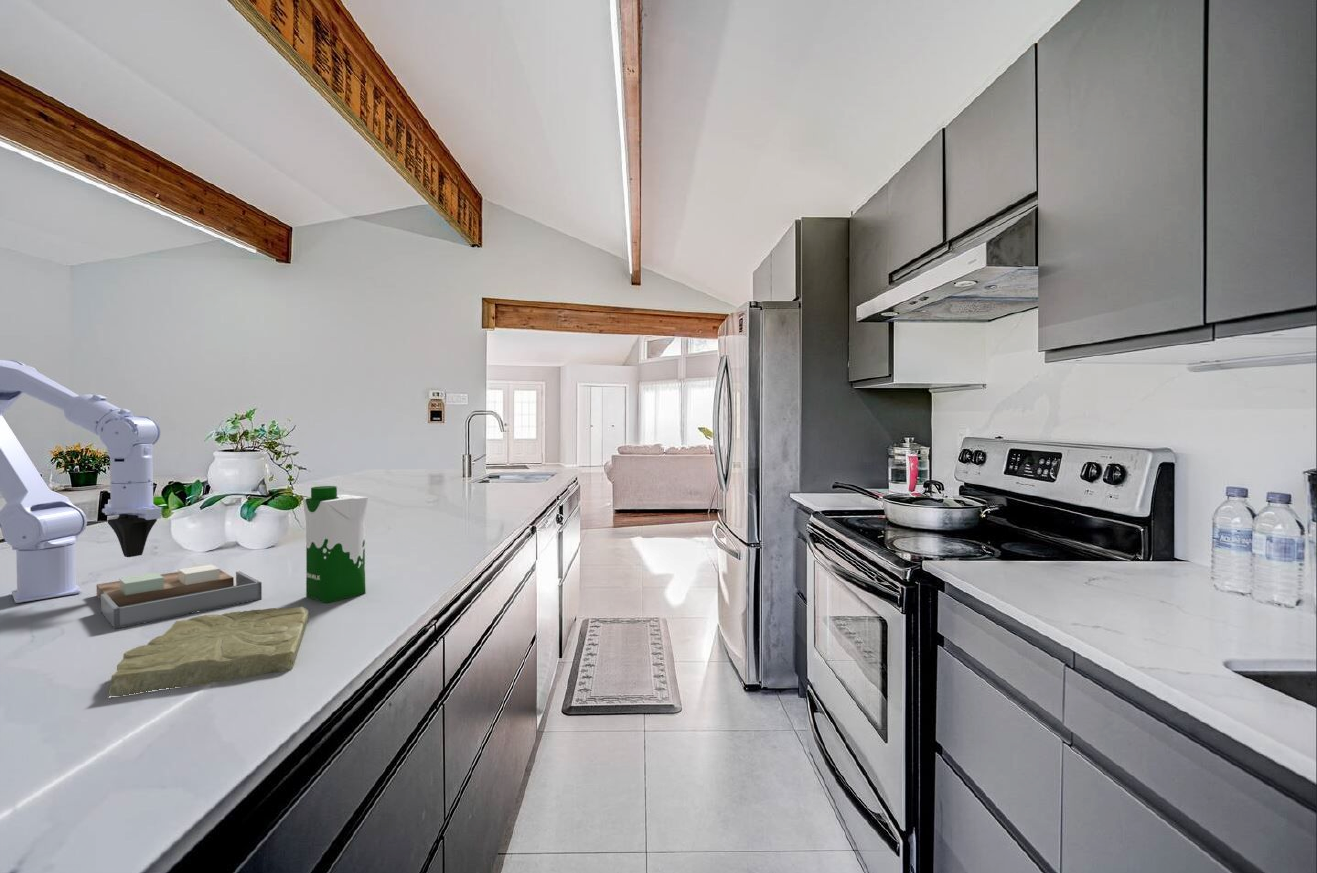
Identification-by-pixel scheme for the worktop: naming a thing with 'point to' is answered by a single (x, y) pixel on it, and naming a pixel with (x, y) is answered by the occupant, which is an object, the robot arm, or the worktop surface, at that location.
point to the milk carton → (334, 544)
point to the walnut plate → (170, 589)
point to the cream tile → (199, 574)
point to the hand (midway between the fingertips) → (133, 556)
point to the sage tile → (141, 583)
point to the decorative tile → (213, 650)
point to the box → (181, 603)
